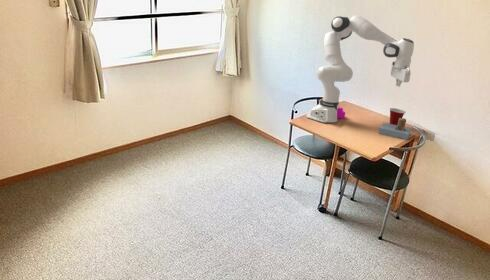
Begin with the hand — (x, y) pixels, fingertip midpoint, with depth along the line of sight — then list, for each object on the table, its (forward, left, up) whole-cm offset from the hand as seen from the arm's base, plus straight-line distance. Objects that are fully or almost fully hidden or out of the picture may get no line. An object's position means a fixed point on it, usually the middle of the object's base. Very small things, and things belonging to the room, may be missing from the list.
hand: (397, 86), depth 254 cm
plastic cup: (+2, +14, -31) cm, 34 cm away
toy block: (-40, +10, -32) cm, 52 cm away
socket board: (+5, -4, -31) cm, 32 cm away
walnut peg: (+8, -4, -30) cm, 31 cm away
